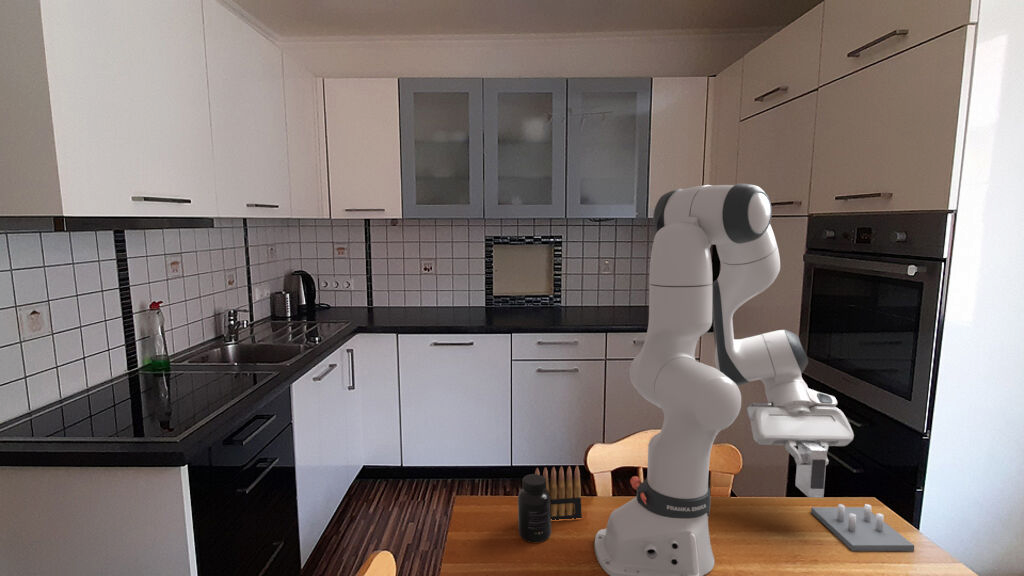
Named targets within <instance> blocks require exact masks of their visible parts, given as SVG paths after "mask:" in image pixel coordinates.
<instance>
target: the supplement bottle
mask: <svg viewBox="0 0 1024 576" xmlns="http://www.w3.org/2000/svg"><path fill="white" fill-rule="evenodd" d="M517 512H518V514H517V516H518V517H517V519H518V522H517V523H518V525H517V526H518V534H519V536H521V537H520V538H521V539H522V538H523V539H522V540H523V541H525V540H526V541H525V542H527V541H530V542H529V543H531V542H539V543H542V542H541V541H543V542H545V541H546V539H547V540H548V539H549V538H550V537H551V535H552V522H551V495H550V490H549V491H548V490H547V489H546V479H545V478H544V477H543V475H541V474H540V475H538V474H535V473H532V474H527V475H525V476H524V477H523V478H522V487H521V490H520V491H519V492H518V495H517ZM544 540H545V541H544Z"/></svg>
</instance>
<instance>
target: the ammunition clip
mask: <svg viewBox="0 0 1024 576" xmlns="http://www.w3.org/2000/svg"><path fill="white" fill-rule="evenodd" d="M548 473H549V472H548V469H547V467H544V469H543V473H542V476H543V477H544V478H545V479H546V489H547V490H548V491H549V493H550V495H551V519H552V520H555V519H556V520H559V519H572V518H574V519H576V518H582V519H583V516H582V512H583V511H582V496H581V493H582V492H581V489H582V486H581V476H580V475H581V473H580V469H579V465H576V466H575V469H574V473H572V468H571V466H570V465H569V466H567V470H566V478H565V474H564V473H565V472H564V468H563V466H560V468H559V471H558V482H557V471H556V468H555V466H553V467H552V468H551V472H550V484H549V474H548ZM534 474H538V475H541V474H540V470H539V468H538V467H536V469H535V472H534ZM573 474H574V476H573ZM565 480H566V481H565Z"/></svg>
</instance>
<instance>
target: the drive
mask: <svg viewBox="0 0 1024 576" xmlns="http://www.w3.org/2000/svg"><path fill="white" fill-rule="evenodd" d="M797 450H798V451H799V452H800V453H801V454H805V457H806V459H807V463H806V464H805V465H797V464H796V471H795V472H796V473H795V482H794V483H795V487H796V488H797V489H799V490H800V491H801V492H802V493H803V494H804V495H805V496H806V497H808V498H810V499H811V498H813V499H815V498H816V499H817V498H821V499H823V498H824V496H825V495H824V494H825V485H826V482H825V481H826V469H827V468H826V467H827V465H826V459H827V458H828V451H827V450H825V449H824V448H823V447H821V446H820V445H818V444H817V443H815V442H814V441H799V442H798V445H797Z"/></svg>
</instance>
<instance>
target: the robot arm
mask: <svg viewBox="0 0 1024 576" xmlns="http://www.w3.org/2000/svg"><path fill="white" fill-rule="evenodd" d="M772 209H773V208H772V204H771V200H770V198H769V195H768V194H767V193H766V192H765V191H764V189H762V188H761V187H759V186H758V185H754V184H750V183H749V184H748V183H737V184H733V185H732V184H720V185H719V184H716V185H714V184H713V185H711V184H706V185H705V184H704V185H698V186H697V185H696V186H693V187H692V186H691V187H688V188H684V189H683V188H677V189H673V190H670V191H668V192H666V193H664V194H663V195H661V196H660V197H659V199H658V200H657V202H656V204H655V207H654V209H653V216H652V217H653V218H652V219H653V226H654V229H655V232H656V234H655V235H654V238H653V242H652V247H651V253H650V263H649V274H648V275H649V279H648V280H649V281H648V283H649V284H648V289H649V290H648V292H649V295H648V296H649V297H648V325H647V331H646V335H645V340H644V342H643V346H642V348H641V350H640V352H639V353H637V355H636V356H635V357H634V359H632V361H631V364H630V366H629V372H628V373H629V375H628V376H629V379H630V383H631V385H632V386H633V388H635V390H636V391H637V393H638V394H640V395H641V396H642V398H644V400H646V401H647V402H649V403H651V404H652V405H654V406H656V407H658V408H659V409H661V410H662V412H663V422H662V427H661V429H660V432H658V433H656V434H655V435H653V436H652V437H651V438H650V440H649V441H648V445H647V447H648V448H647V475H646V476H647V477H646V479H644V481H641V479H640V477H639V476H636V475H635V476H632V477H631V478H630V480H629V482H630V485H631V487H632V489H634V490H635V491H636V496H635V497H634V498H632V499H630V501H629V500H628V501H627V502H626V503H624V504H623V505H621V506H619V507H618V508H616V509H614V510H613V511H612V512H611V513H610V515H609V517H608V521H607V523H606V528H601V529H599V530H598V531H597V532H596V534H595V536H594V537H595V538H594V543H593V544H594V554H595V557H596V559H597V561H598V563H599V565H600V566H601V568H602V569H603V571H604V572H606V574H608V576H705V575H707V574H709V573H710V572H711V571H712V569H714V566H715V562H716V561H715V557H714V553H713V549H712V544H711V540H710V539H711V538H710V531H709V530H710V528H709V517H710V511H711V488H710V486H709V473H710V472H709V471H710V458H711V451H712V447H713V444H714V441H715V439H716V437H717V436H718V434H719V433H720V432H721V431H722V430H723V431H724V430H725V429H727V428H728V427H730V426H731V425H732V424H733V423H734V422H735V421H736V419H738V418H737V417H738V416H739V414H740V412H741V409H742V393H741V391H740V388H739V386H741V385H745V384H750V382H753V381H754V382H755V381H758V380H759V381H761V382H762V384H763V385H764V391H765V392H764V393H765V397H766V399H767V402H758V401H755V402H754V401H753V402H751V403H749V404H748V405H747V406H746V413H747V417H748V418H749V420H750V428H751V433H752V437H753V440H754V441H755V442H756V443H757V444H758V445H762V446H763V445H769V446H770V445H771V446H773V445H774V446H776V445H777V446H784V447H785V450H786V451H787V452H788V453H789V454H790V455H791V456H792V457H793V458H794V462H795V464H796V466H797V465H805V464H806V463H807V459H806V457H805V454H801V453H800V452H799V451H798V448H797V446H798V442H799V441H814V442H815V443H817V444H818V445H820V446H821V447H823V448H824V449H825V450H827V452H828V450H829V447H833V446H834V447H846V446H848V445H849V444H850V443H851V442H852V441H853V440H854V437H855V434H854V431H853V429H852V427H851V424H850V421H849V420H848V418H847V417H846V415H845V414H844V412H843V411H842V410H841V409H839V408H838V407H836V406H838V400H837V399H836V397H835V396H834V395H830V394H828V393H824V392H820V391H817V390H814V389H813V388H812V389H811V388H809V387H808V384H807V382H805V380H804V379H803V377H802V374H803V373H804V371H805V369H806V367H807V366H808V364H809V359H808V355H807V354H806V352H805V350H804V348H803V346H802V343H801V339H800V337H799V336H798V334H796V333H794V332H792V331H790V330H787V329H779V330H778V329H777V330H774V331H769V332H765V333H761V334H758V335H757V334H756V335H753V336H748V337H743V338H739V339H735V334H734V324H733V323H734V322H733V317H734V314H735V312H736V311H737V310H738V309H739V308H740V307H741V306H742V305H744V304H745V303H746V302H748V301H749V300H751V299H753V298H755V297H756V296H757V295H760V294H761V293H763V292H764V291H765V290H767V289H768V288H770V286H771V285H772V284H773V283H774V282H775V280H776V279H777V277H778V275H779V273H780V271H781V258H780V252H779V247H778V244H777V243H778V242H777V240H776V237H775V233H774V231H773V228H772V225H771V221H772V216H773V215H772V214H773V211H772ZM712 245H715V246H716V247H715V248H716V252H717V255H718V258H719V261H720V262H719V263H720V270H719V275H718V277H717V279H715V280H714V281H713V262H712V254H711V253H712V252H711V247H712ZM711 327H713V337H714V347H715V348H714V366H715V367H713V366H710V365H708V364H705V363H702V362H700V361H697V359H696V358H695V357H696V356H695V353H696V348H697V345H698V342H699V339H700V338H701V336H703V335H705V334H706V333H708V331H709V330H710V329H711ZM829 461H830V460H829V459H828V457H827V459H826V466H828V465H829Z"/></svg>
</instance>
